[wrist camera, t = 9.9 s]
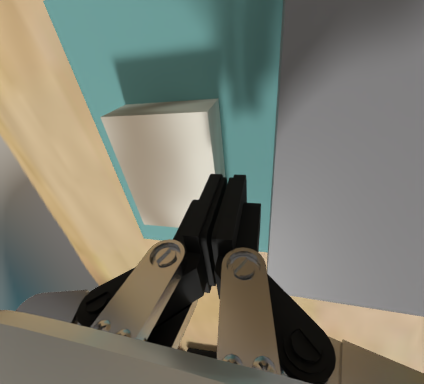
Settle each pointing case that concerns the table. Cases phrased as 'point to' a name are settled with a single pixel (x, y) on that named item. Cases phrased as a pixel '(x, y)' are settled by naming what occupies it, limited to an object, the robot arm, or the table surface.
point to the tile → (166, 154)
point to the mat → (183, 73)
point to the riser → (350, 154)
